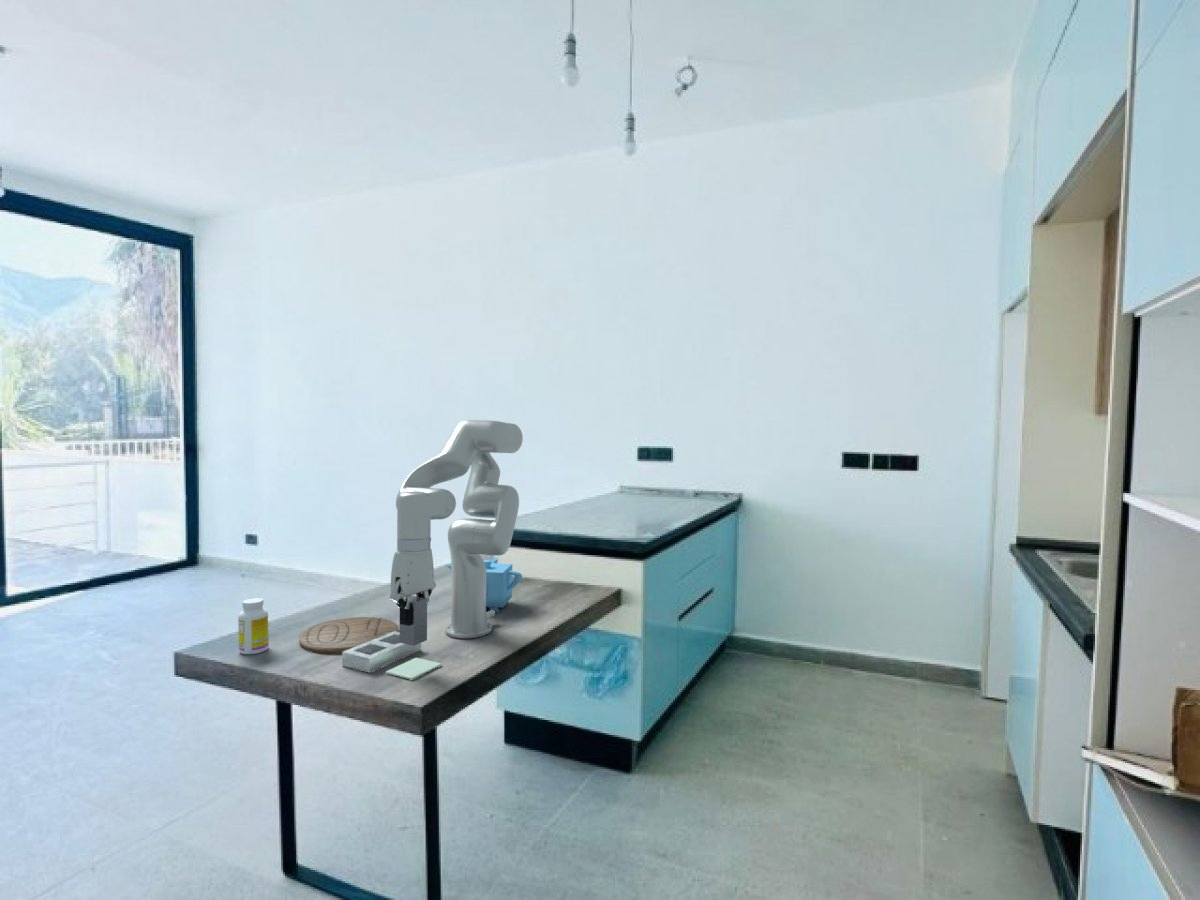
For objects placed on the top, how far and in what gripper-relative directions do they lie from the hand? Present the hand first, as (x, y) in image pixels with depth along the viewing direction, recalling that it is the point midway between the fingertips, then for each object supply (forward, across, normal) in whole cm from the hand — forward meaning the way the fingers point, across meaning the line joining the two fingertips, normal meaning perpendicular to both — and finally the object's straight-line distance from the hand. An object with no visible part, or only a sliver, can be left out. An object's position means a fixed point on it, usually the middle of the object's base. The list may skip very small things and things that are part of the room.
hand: (413, 620), depth 152 cm
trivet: (+12, -9, -31) cm, 35 cm away
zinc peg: (+5, 0, 0) cm, 5 cm away
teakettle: (+12, -49, -17) cm, 54 cm away
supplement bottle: (+12, +10, -44) cm, 47 cm away
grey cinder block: (+12, -2, -12) cm, 17 cm away
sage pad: (+12, 0, 0) cm, 12 cm away
